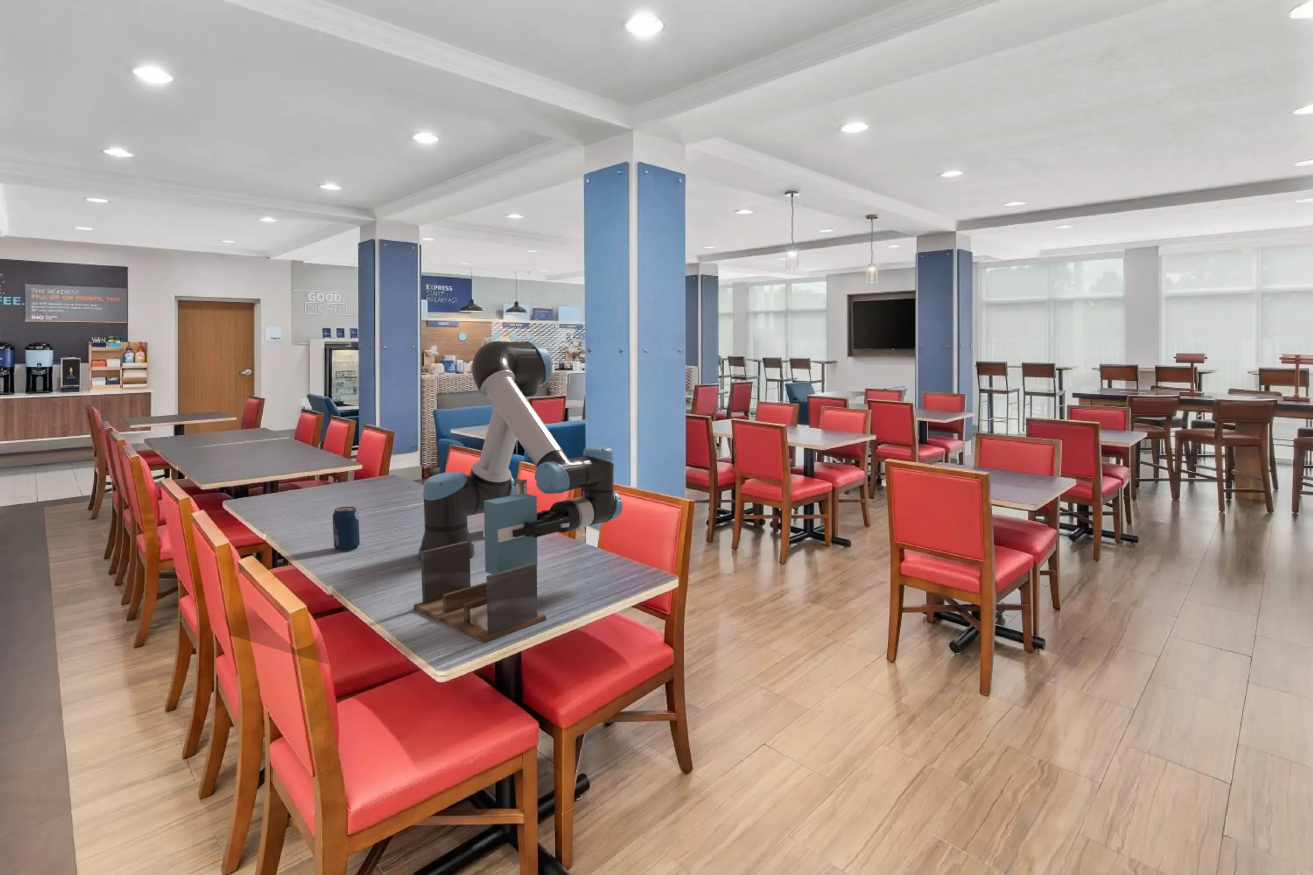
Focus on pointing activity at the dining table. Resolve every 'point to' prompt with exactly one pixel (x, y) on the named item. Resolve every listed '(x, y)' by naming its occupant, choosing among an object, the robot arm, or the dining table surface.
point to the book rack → (477, 594)
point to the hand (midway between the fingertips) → (491, 533)
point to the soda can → (346, 529)
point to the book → (506, 515)
